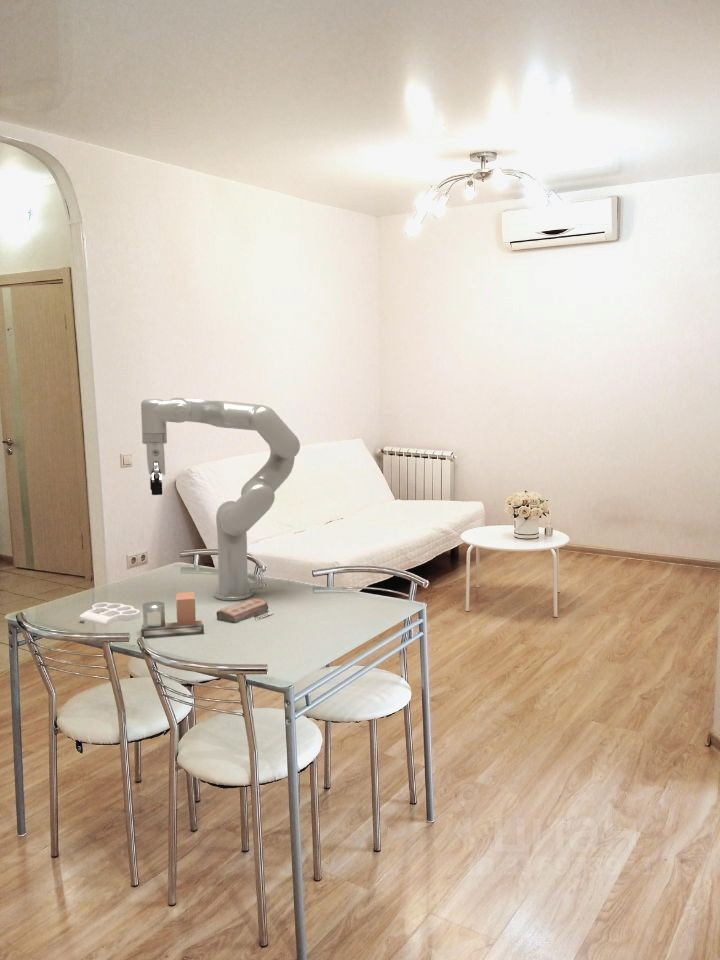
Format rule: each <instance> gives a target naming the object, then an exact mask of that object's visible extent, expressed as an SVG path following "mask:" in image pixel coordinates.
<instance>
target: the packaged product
mask: <svg viewBox="0 0 720 960" xmlns="http://www.w3.org/2000/svg"><path fill="white" fill-rule="evenodd" d="M268 605H269V604H268V602H267V601H266V600H264V599H260V598H255V597H253V598H250V599H247V600H245V601H241V602H239V603H235V604H232V605H229V606H227V607H224V608H221V609H218V610H217V611H216V620H217V621H224V622H228V623H229V622H230V623H234V624H236V623H240V622H242V621H244V620H247V619H249V618H254V620H256V619H258V618H261V617H263V616H266V615H268V612H269V611H270V610H269V606H268Z"/></svg>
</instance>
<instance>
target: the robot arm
mask: <svg viewBox="0 0 720 960" xmlns="http://www.w3.org/2000/svg"><path fill="white" fill-rule="evenodd" d="M140 409H141V410H140V411H141V413H140V415H141V417H140V418H141V440H142V441H141V442H142V443H141V444H143V445H146V461H147V462H146V464H147V470H148V474H149V475H150V478H149V483H150V485H149V486H150V491H151V496H161V495H163V482H162V475H163V476H165V475H166V461H165V459H166V458H165V456H166V455H165V444H168V440H167V439H168V433H167V422H170V423H178V424H179V423H180V424H182V423H185V422H189V423H190V422H191V423H200V424H206V425H211V426H213V427H217V428H223V429H232V430H233V429H235V430H244V431H246V430H247V431H254V432H255V431H256V432H257V433H258V434H259V436H261V438H262V439H263V440H264V441H265V442H266V444H267V445H268V446H269V449H270V450H269V451H270V452H269V453H270V454H269V458H268V460H267V461H266V462H265V464H264V465H263V466H262V467H261V468H260V469H259V470H258V471H257V472H256V473H255V474H254V475H253V476H252V477H250V479H249V480H247V482H245V483H244V485H243V486H242V488H241V491H240V495H241V496H240V497H239V498H238V499H237V500H236V501H234V500H229V501H225V502H223V503H221V504H220V506H218V508H217V511H216V515H215V518H216V519H215V521H216V522H215V524H216V532H217V535H216V537H217V561H218V562H217V564H218V565H217V566H218V567H217V568H218V589H217V590H215V591H214V593H213V595H214V597H215V598H216V599H218V600H222V601H240V600H245V598H246V599H248V597H249V598H251V597H252V596H253V590H262V589H263V584H262V583H258V582H249V579H248V534H247V532H248V531H249V530H250V529H251V528H252V527H254V525H255V524H256V523H257V522H258V521H260V520H261V519H262V518H263V516H265V514H267V512H268V511H269V510H270V509H271V508H272V506H273V504H274V501H275V499H276V498H275V497H276V496H275V495H276V494H275V492H276V491H277V490H278V489H279V488H280V487H281V486H282V485H283V483H284V482H285V481H286V480H287V479H288V477H289V476H290V474H291V473H292V471H293V468H294V464H295V457H296V456H297V455H298V454H299V452H300V449H301V442H300V439H299V437H297V435H296V434H295V433H294V432H293V431H292V430H291V429H290V428H289V426H288V425H287V423H285V422H284V421H283V419H281V417H280V416H279V415H278V414H277V413H276V412H275V410H273V408H271V407H269V406H266V405H263V404H257V403H256V404H255V403H246V402H245V403H243V402H236V401H226V400H203V399H196V398H194V399H193V398H187V397H173V398H171V399H169V400H163V399H161V398H147V399H143V400H142V401H141V404H140ZM250 596H251V597H250Z"/></svg>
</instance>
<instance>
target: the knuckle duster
mask: <svg viewBox="0 0 720 960" xmlns="http://www.w3.org/2000/svg"><path fill="white" fill-rule="evenodd" d="M140 618H141V610H140V609H136V608H135V607H134V606H132V605H125V604H124V603H119V602H118V603H111V602H105V601H104V602H96V603H94V604H92V605H91V609H88V610H86V611H84V612H83V613H81V614H80V615H79V617H78V619H79V621H81V622H83V623H85V621H88V622H90V623H95V624H99V625H101V626H102V625H103V626H108V625H110V624H113V623H117V622H119V621H124V622H125V621H127V622H129V621H135V620H137V619H140Z"/></svg>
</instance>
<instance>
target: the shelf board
mask: <svg viewBox="0 0 720 960" xmlns="http://www.w3.org/2000/svg"><path fill="white" fill-rule="evenodd" d="M140 630H141V631H140V635H141V638H142V637H144V638H145V639H155V638H156V639H157V638H168V637H170V638H171V637H180V636H193V635H194V636H195V635H204V634H205V632H204V631H205V626H204V624H203V621H202V620H196V625H185V626H178V625H177V621H175V622H165V627H159V628H146V629H143V624H142V625H141V629H140Z"/></svg>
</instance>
